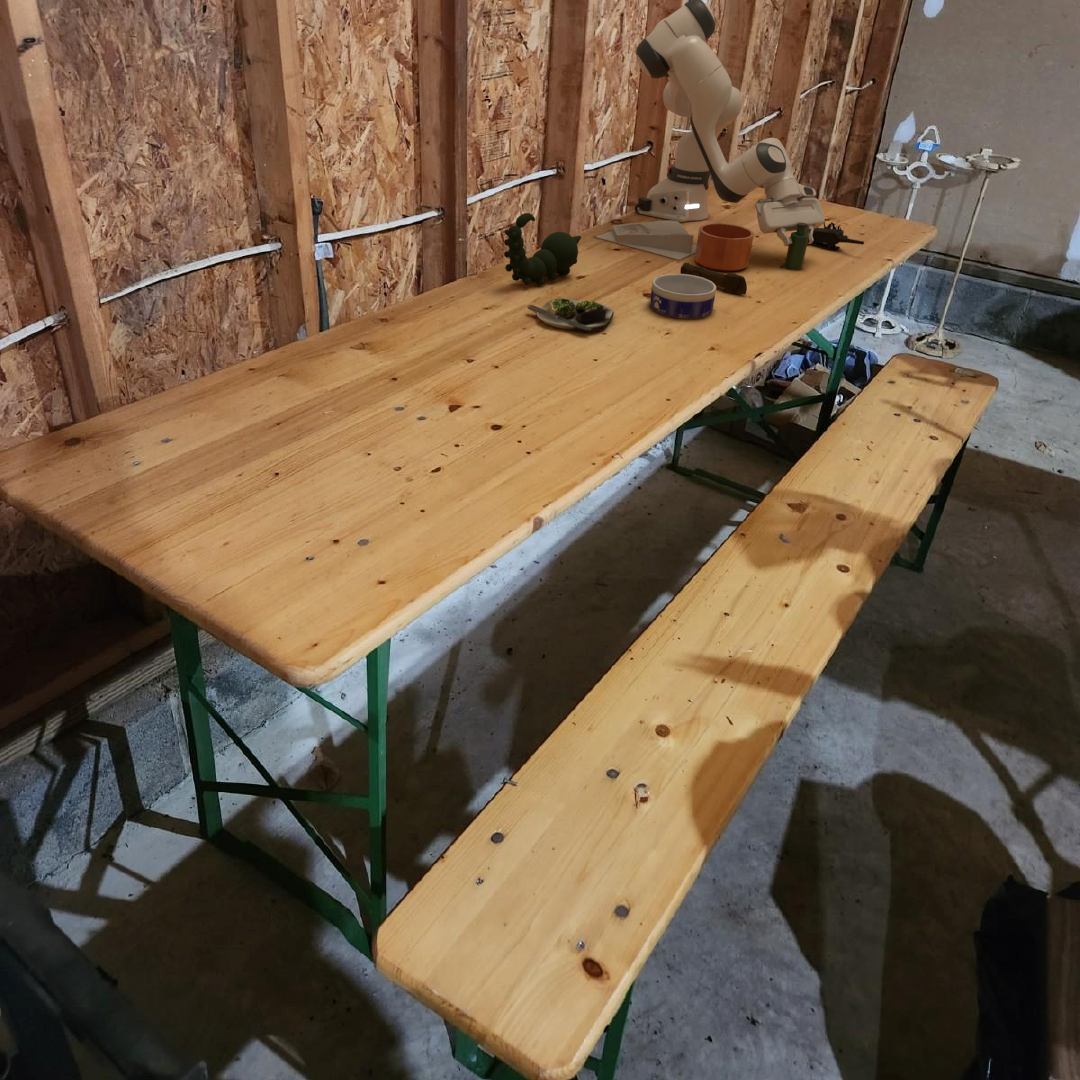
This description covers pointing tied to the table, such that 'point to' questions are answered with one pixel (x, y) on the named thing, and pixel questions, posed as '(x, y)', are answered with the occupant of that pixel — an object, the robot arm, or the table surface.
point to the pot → (724, 246)
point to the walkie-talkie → (831, 238)
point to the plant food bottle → (797, 248)
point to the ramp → (654, 238)
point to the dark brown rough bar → (718, 278)
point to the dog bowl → (682, 296)
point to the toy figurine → (540, 254)
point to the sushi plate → (574, 315)
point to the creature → (833, 226)
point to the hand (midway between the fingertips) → (799, 243)
